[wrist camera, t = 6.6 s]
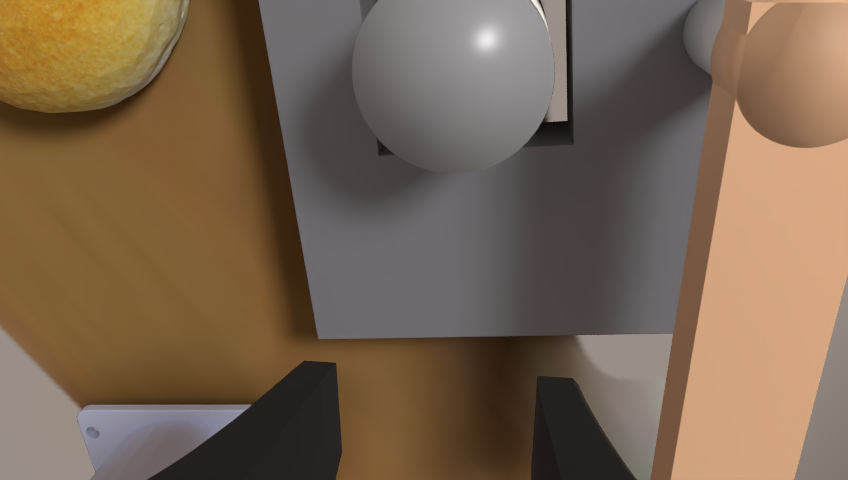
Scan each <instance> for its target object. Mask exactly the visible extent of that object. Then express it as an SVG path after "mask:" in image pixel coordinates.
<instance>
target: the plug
mask: <svg viewBox="0 0 848 480" xmlns="http://www.w3.org/2000/svg"><path fill="white" fill-rule="evenodd" d="M352 79H353V88H354V92H355V97H356V100H357V103H358V106H359V109H360V111H361V113H362V115H363V117H364V119H365V121H366V123H367V125H368V126H369V128H370V129H371V131H372V132H373V133H374V135H375V136H376V137H377V138H378V139H379V141H380V142H381V143H382V144H383V145H384V146H386V147H387V148H388V149H389V150H390V151H391V152H393V153H394V154H395V155H397V156H398V157H400V158H401V159H403V160H405V161H407V162H408V163H410V164H412V165H415V166H417V167H420V168H422V169H426V170H430V171H434V172H440V173H448V174H461V173H469V172H475V171H479V170H482V169H486V168H488V167H491V166H493V165H496V164H498V163H500V162H502V161H503V160H505V159H507V158H509V157H510V156H511V155H513V154H514V153H515V152H517V151H518V150H519V149H520V148H521V147H522V146H523V145H524V144H526V143H527V142H528V141H529V139H530V138H531V137H532V136H533V134H534V133H535V132H536V130H537V129H538V127H539V126H540V124H541V122H542V121H543V119H544V116H545V114H546V112H547V110H548V107H549V104H550V101H551V97H552V94H553V87H554V81H555V63H554V54H553V49H552V44H551V40H550V35H549V30H548V26H547V21H546V17H545V13H544V9H543V7H542V4H541V1H540V0H378V1H377V3H376V4H375V5H374V6H373V7H372V9H371V10H370V12H369V13H368V15H367V17H366V18H365V20H364V22H363V24H362V26H361V28H360V31H359V33H358V36H357V39H356V43H355V46H354V52H353V58H352Z"/></svg>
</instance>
